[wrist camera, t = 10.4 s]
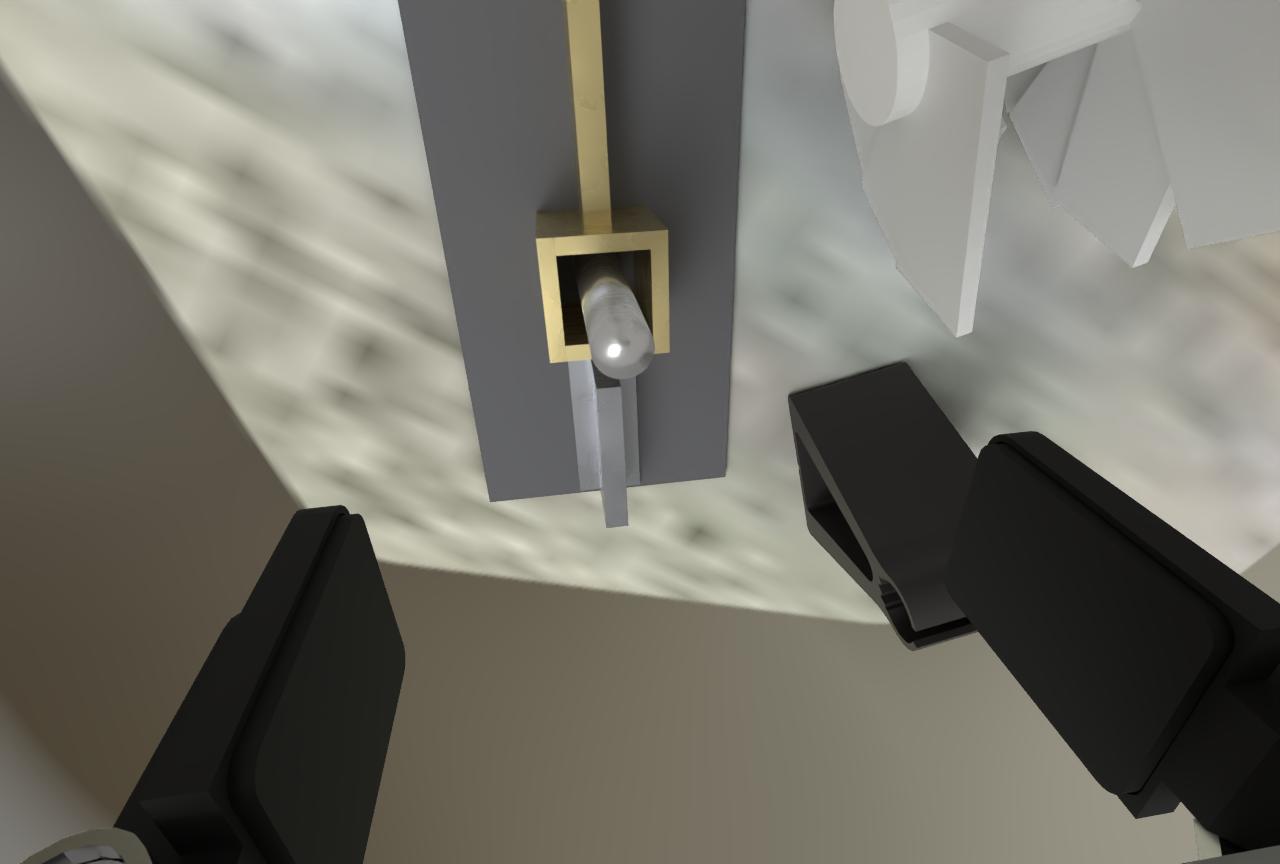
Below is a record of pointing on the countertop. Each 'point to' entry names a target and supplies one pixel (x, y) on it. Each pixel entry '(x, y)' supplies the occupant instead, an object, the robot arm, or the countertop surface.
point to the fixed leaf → (608, 382)
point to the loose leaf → (596, 206)
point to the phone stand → (886, 494)
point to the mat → (546, 181)
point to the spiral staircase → (1061, 122)
